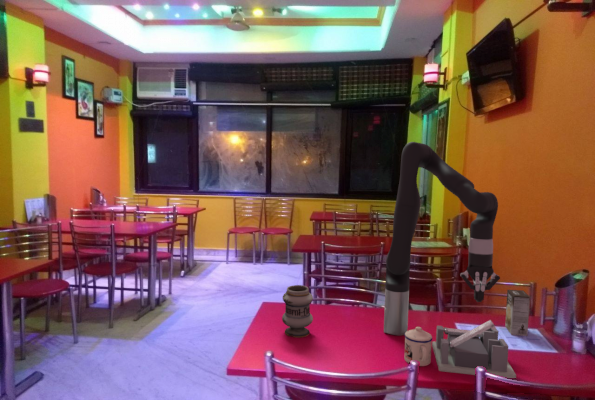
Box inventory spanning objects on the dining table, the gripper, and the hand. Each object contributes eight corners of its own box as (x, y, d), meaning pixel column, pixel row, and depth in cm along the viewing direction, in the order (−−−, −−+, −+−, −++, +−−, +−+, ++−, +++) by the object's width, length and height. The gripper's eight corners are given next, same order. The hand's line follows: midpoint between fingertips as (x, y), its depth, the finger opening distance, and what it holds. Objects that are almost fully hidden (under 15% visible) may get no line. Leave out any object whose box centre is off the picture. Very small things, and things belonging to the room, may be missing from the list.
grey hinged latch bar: (444, 336, 149) (444, 330, 149) (443, 332, 152) (443, 327, 152) (491, 341, 146) (492, 335, 146) (489, 337, 149) (489, 331, 149)
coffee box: (504, 326, 176) (506, 288, 174) (520, 327, 174) (523, 290, 173) (510, 335, 167) (513, 295, 165) (528, 336, 165) (531, 296, 164)
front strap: (452, 351, 137) (448, 345, 137) (451, 347, 140) (447, 341, 140) (496, 328, 134) (492, 322, 134) (493, 324, 137) (490, 319, 137)
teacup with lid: (400, 354, 147) (401, 322, 146) (426, 354, 148) (427, 322, 147) (410, 371, 135) (412, 336, 135) (438, 371, 136) (440, 336, 135)
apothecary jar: (276, 335, 162) (277, 289, 161) (289, 324, 173) (289, 282, 172) (306, 341, 157) (307, 294, 156) (316, 329, 169) (317, 285, 167)
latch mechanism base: (438, 370, 136) (440, 341, 135) (432, 345, 156) (433, 319, 155) (515, 379, 131) (517, 348, 131) (498, 351, 151) (500, 324, 150)
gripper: (462, 252, 140) (460, 303, 141) (505, 254, 137) (502, 306, 139) (457, 248, 147) (456, 296, 148) (498, 249, 145) (496, 299, 146)
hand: (478, 301), depth 143 cm, fingers closed
